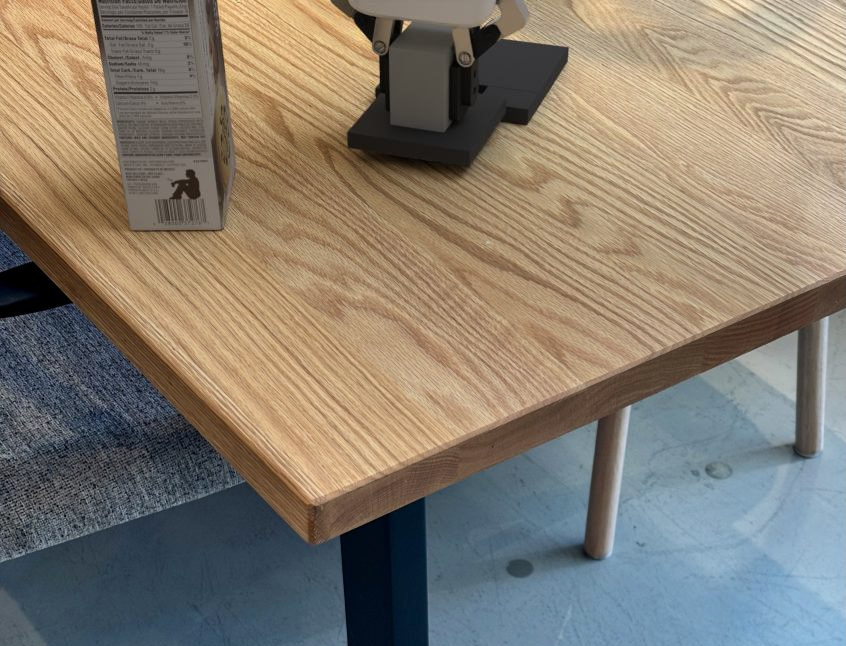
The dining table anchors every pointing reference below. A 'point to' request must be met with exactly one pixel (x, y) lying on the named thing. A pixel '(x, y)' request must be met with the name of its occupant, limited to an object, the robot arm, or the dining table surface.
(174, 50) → the coffee box
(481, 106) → the grey post on plate
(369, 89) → the dining table surface
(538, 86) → the base pad
